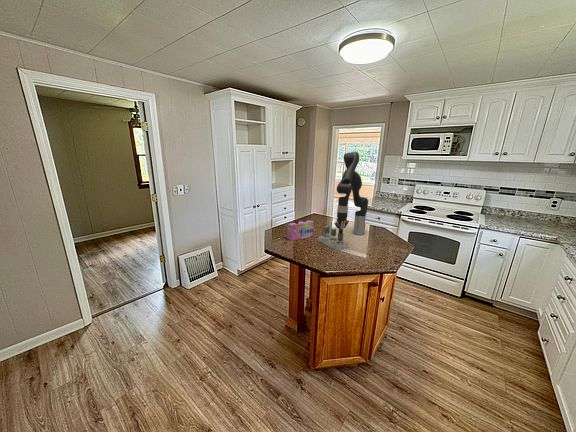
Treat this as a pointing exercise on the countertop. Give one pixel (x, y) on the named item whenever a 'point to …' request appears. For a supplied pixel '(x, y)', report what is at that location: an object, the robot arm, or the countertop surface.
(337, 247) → the mount plate
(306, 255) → the countertop surface
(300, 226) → the gum box
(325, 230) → the knob
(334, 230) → the knob mid
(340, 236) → the knob
